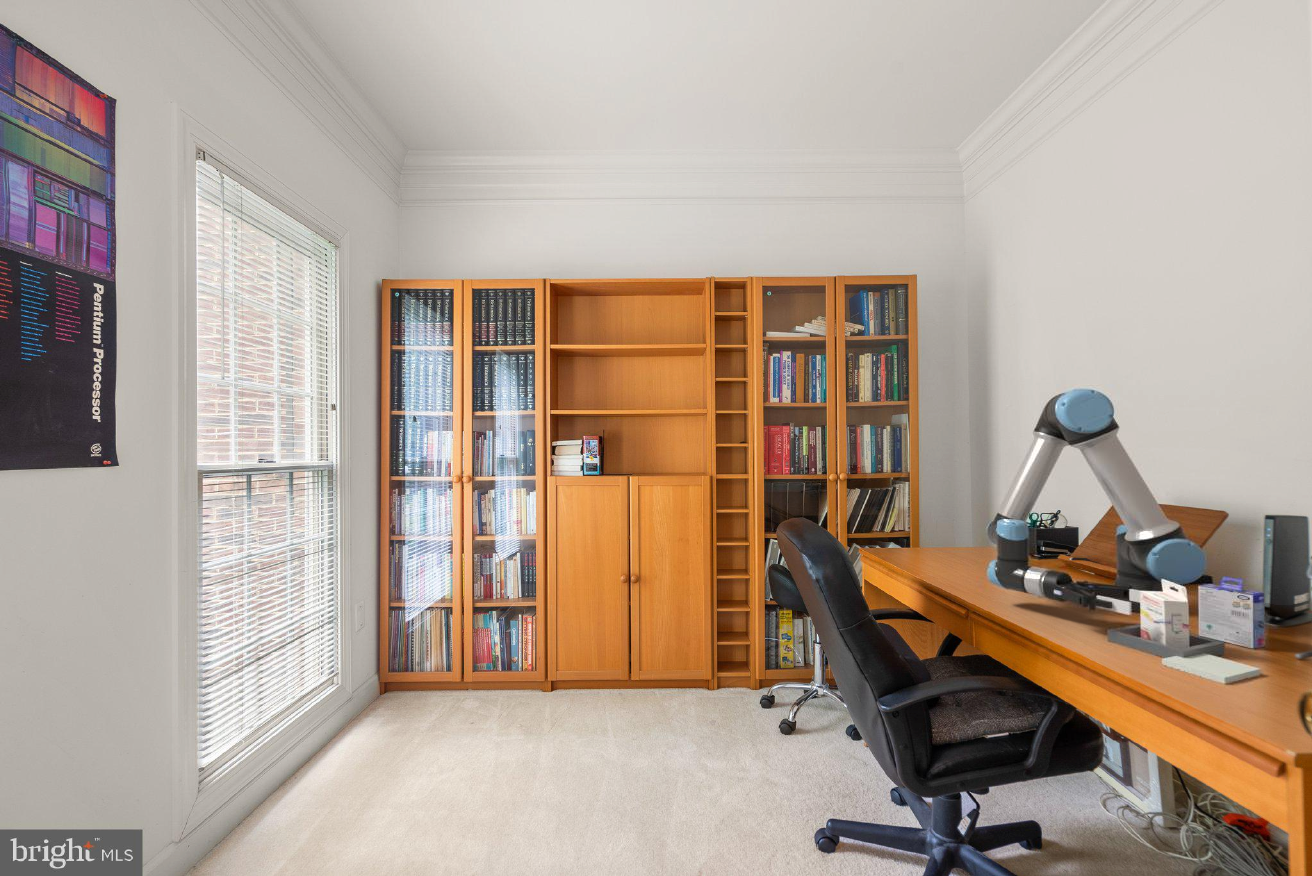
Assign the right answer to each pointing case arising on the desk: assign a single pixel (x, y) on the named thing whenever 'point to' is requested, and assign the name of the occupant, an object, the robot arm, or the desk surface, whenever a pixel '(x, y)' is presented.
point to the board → (1212, 667)
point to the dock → (1132, 639)
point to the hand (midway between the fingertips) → (1147, 605)
